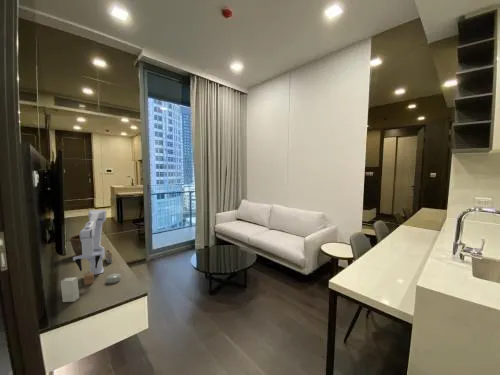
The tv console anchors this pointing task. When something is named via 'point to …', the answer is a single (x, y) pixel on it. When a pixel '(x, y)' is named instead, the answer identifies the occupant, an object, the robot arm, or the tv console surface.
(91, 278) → the walnut block
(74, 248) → the plant pot
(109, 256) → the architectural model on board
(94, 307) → the tv console surface
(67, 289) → the skincare box
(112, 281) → the pale grey round disc
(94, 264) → the robot arm
